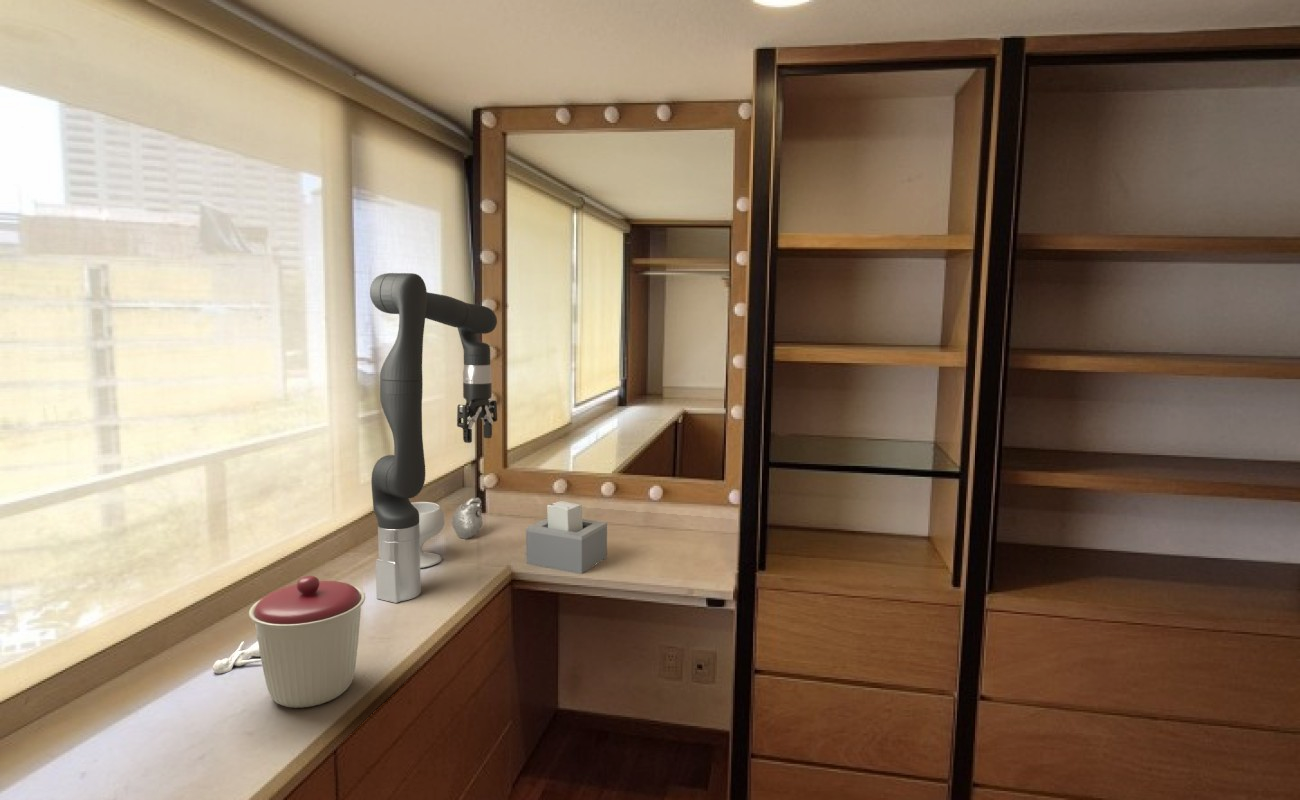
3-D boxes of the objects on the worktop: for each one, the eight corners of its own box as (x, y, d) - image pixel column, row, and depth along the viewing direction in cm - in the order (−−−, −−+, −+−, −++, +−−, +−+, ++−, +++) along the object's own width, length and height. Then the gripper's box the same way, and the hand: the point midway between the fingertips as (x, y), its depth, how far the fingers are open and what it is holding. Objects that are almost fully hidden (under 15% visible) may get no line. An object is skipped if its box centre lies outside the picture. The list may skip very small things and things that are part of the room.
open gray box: (581, 574, 183) (581, 536, 182) (526, 563, 190) (526, 527, 189) (606, 557, 196) (607, 522, 195) (554, 548, 203) (554, 514, 202)
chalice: (379, 567, 185) (377, 512, 183) (410, 551, 198) (409, 498, 197) (426, 573, 181) (424, 517, 180) (455, 556, 195) (454, 503, 193)
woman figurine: (321, 624, 141) (229, 667, 126) (323, 645, 142) (232, 690, 127) (286, 611, 147) (195, 650, 132) (289, 630, 148) (198, 672, 133)
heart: (450, 530, 217) (449, 494, 214) (481, 527, 220) (481, 492, 216) (451, 545, 208) (450, 508, 204) (484, 543, 211) (483, 506, 207)
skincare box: (584, 558, 192) (584, 504, 190) (568, 563, 187) (568, 509, 186) (562, 551, 197) (562, 499, 196) (546, 556, 193) (546, 503, 191)
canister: (314, 730, 113) (308, 604, 110) (228, 709, 119) (221, 588, 116) (389, 677, 130) (386, 566, 127) (311, 660, 136) (307, 554, 133)
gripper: (471, 384, 184) (472, 445, 186) (504, 380, 197) (504, 437, 199) (448, 382, 187) (449, 443, 189) (482, 378, 200) (483, 435, 202)
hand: (477, 440), depth 194 cm, fingers open, 8 cm apart
